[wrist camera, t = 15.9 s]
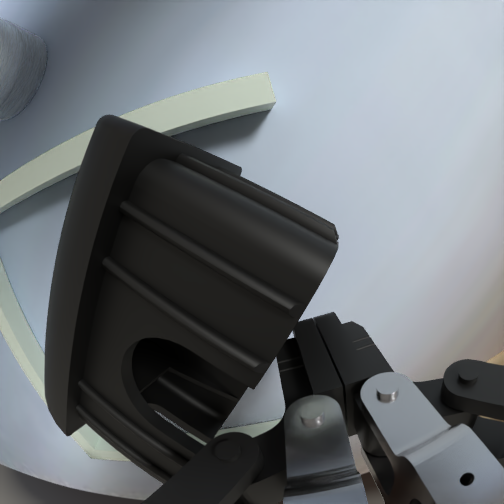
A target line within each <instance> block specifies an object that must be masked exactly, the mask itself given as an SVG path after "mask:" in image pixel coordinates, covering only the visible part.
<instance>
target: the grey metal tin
mask: <svg viewBox="0 0 504 504" xmlns="http://www.w3.org/2000/svg"><path fill="white" fill-rule="evenodd" d="M46 64H47V47H46V44H45V42H44V41H43V39H42V38H40V37H39V36H37V35H35V34H33V33H31V32H29V31H27V30H25V29H23V28H21V27H19V26H17V25H15V24H13V23H11V22H9V21H7V20H5V19H3V18H0V121H5V120H9V119H11V118H13V117H15V116H16V115H18V114H19V113H20V112H21V111H22V110H23V109H24V108H25V107H26V106H27V105H28V103H29V102H30V101H31V99H32V98H33V96H34V95H35V93H36V91H37V89H38V88H39V85H40V83H41V81H42V78H43V76H44V72H45V69H46Z"/></svg>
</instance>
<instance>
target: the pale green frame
mask: <svg viewBox="0 0 504 504" xmlns="http://www.w3.org/2000/svg"><path fill="white" fill-rule="evenodd" d="M275 103H276V99H275V96H274V92H273V89H272V85H271V82H270V79H269V75H268V72H265V73H260V74H255V75H250V76H245V77H241V78H236V79H232V80H228V81H224V82H220V83H216V84H212V85H209V86H205V87H202V88H198V89H195V90H191V91H188V92H185V93H181V94H178V95H175V96H172V97H169V98H166V99H163V100H160V101H157V102H155V103H152V104H149V105H146V106H144V107H141V108H138V109H136V110H133V111H131V112H128V113H126V114H123V115H121V116H119V117H120V118H123V119H126V120H128V121H131V122H134V123H137V124H139V125H142V126H145V127H147V128H150V129H152V130H155V131H157V132H160V133H163V134H165V135H168V136H172V135H176V134H179V133H182V132H185V131H188V130H192V129H195V128H198V127H202V126H205V125H209V124H212V123H216V122H220V121H224V120H227V119H231V118H235V117H239V116H243V115H248V114H252V113H256V112H261V111H266V110H270V109H272V108H273V106H274V104H275ZM94 129H95V127H94V128H91V129H89V130H87V131H85V132H83V133H81V134H79V135H77V136H75V137H73V138H71V139H69V140H67V141H65V142H63V143H61V144H60V145H58V146H56V147H54V148H52V149H50V150H49V151H47V152H45V153H43V154H42V155H40V156H38V157H36V158H35V159H33V160H31V161H30V162H28V163H27V164H25V165H23V166H22V167H20V168H19V169H17V170H15V171H14V172H12V173H11V174H9V175H8V176H6V177H5V178H3V179H2V180H0V213H2V212H3V211H5V210H7V209H9V208H10V207H12V206H14V205H15V204H17V203H19V202H21V201H22V200H24V199H26V198H28V197H30V196H31V195H33V194H35V193H37V192H39V191H41V190H43V189H45V188H47V187H49V186H51V185H53V184H55V183H57V182H59V181H61V180H63V179H65V178H67V177H69V176H71V175H73V174H75V173H78V172H79V169H80V166H81V163H82V160H83V158H84V155H85V152H86V149H87V147H88V144H89V142H90V139H91V136H92V134H93V131H94ZM0 330H1V332H2V334H3V336H4V338H5V340H6V342H7V344H8V346H9V347H10V349H11V351H12V353H13V355H14V356H15V358H16V360H17V361H18V363H19V365H20V366H21V368H22V370H23V371H24V373H25V374H26V376H27V378H28V379H29V381H30V382H31V384H32V385H33V387H34V388H35V390H36V391H37V393H38V394H39V395H40V397H41V398H42V400H43V401H44V402H45V404H46V405H47V402H46V399H45V389H44V364H45V354H44V353H43V351H42V349H41V347H40V346H39V344H38V342H37V340H36V338H35V336H34V334H33V332H32V331H31V329H30V327H29V325H28V323H27V321H26V319H25V316H24V314H23V312H22V310H21V308H20V306H19V303H18V301H17V299H16V297H15V294H14V292H13V290H12V287H11V285H10V282H9V280H8V277H7V275H6V272H5V269H4V267H3V264H2V261H1V258H0ZM47 407H48V406H47ZM280 421H281V419H278V420H273V421H268V422H263V423H258V424H252V425H247V426H241V427H234V428H228V429H220V430H219V431H218V432H217V434H216V435H215V437H216V436H218V435H221V434H224V433H228V432H241V433H245V434H248V435H250V436H251V437H252V438H253V437H256V436H258V435H260V434H262V433H264V432H266V431H268V430H270V429H272V428H273V427H275V426H276V425H277V424H278V423H279V422H280ZM186 434H187V435H189V436H190V437H192V438H193V439H195V440H197V441H198V442H200V443H202V444H203V445H206V444H207V443H205V442H203V441H202V440H200V439H199V438H197V437H195V436H194V435H192V434H191V433H186ZM71 437H72V438H73V439H74V440H75V441H76V442H77V443H78V445H79V446H80V447H81V448H82V449H83V450H84V451H85V452H86V453H87V454H88V455H89V457H90V458H93V459H103V460H115V461H130V460H129V459H128V458H126V457H125V456H124V455H122V454H121V453H120V452H119V451H117V450H116V449H115V448H114V447H112V446H111V445H110V444H109V443H107V442H106V441H105V440H104V439H103V438H102V437H100V436H99V435H98V434H97V433H96V432H95V431H93V430H92V429H91V428H90V427H89V426H88V425H87V424H85V425H84V426H82V427H81V428H80V429H78V430H77V431H76V432H74V433H73V434H72V435H71ZM215 437H214V438H215Z"/></svg>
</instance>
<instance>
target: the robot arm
mask: <svg viewBox="0 0 504 504" xmlns="http://www.w3.org/2000/svg"><path fill="white" fill-rule="evenodd" d="M293 334H294V338H291V339H287V340H286V342H285V343H284V345H283V346H282V348H281V349H280V351H279V353H278V354H277V356H276V357H277V363H278V368H279V373H280V379H281V384H282V390H283V395H284V400H285V407H286V408H285V413H284V416H283V418H282V419H281V421H280V422H279V423H278V424H277V425H276V426H275V427H273V428H272V429H270V430H268V431H266V432H264V433H262V434H260V435H258V436H256V437H253V438H252V437H251V436H250V435H248V434H245V433H241V432H228V433H224V434H221V435H218V436H216V437H215V438H213V439H212V440H210V441H209V442H208V443H207V444H206V445H205V446H204V447H203V448H202V449H201V450H200V451H199V452H198V453H197V454H196V455H195V456H194V457H193V458H192V459H191V460H190V461H188V462H187V463H186V464H185V465H184V466H183V467H182V468H181V469H180V470H179V471H178V472H177V473H176V474H175V475H173V476H172V477H171V478H170V479H169V480H168V481H167V482H166V483H165V484H163V485H162V486H161V487H160V488H159V489H158V490H157V491H155V492H154V493H153V494H152V495H151V496H150V497H148V498H147V499H146V500H145V501H144V502H143V503H141V504H279V502H280V501H282V500H283V501H284V504H368V503H367V499H366V494H365V490H364V486H363V482H362V479H361V476H360V473H359V472H357V470H356V467H355V463H354V459H353V454H352V450H351V446H350V442H349V438H348V437H349V436H352V435H355V434H358V437H359V440H360V442H361V454H362V457H363V459H364V461H365V463H366V465H367V467H368V469H369V471H370V473H371V475H372V477H373V479H374V480H375V483H376V485H377V487H378V489H379V491H380V493H381V495H382V497H383V499H384V502H385V504H504V422H501V421H496V420H492V419H487V418H483V417H478V415H480V416H484V417H489V418H493V419H498V420H503V421H504V365H498V364H493V363H487V362H482V361H477V360H471V359H465V360H460V361H457V362H455V363H453V364H451V365H450V366H449V367H448V368H447V369H446V371H445V373H444V377H443V378H442V379H436V380H430V381H425V382H412V381H411V380H410V379H409V378H408V377H407V376H405V375H403V374H401V373H396V372H394V371H393V370H392V368H391V367H390V365H389V364H388V362H387V361H386V359H385V358H384V356H383V355H382V353H381V352H380V351H379V349H378V348H377V346H376V345H375V344H374V342H373V341H372V339H371V338H370V337H369V335H368V333H367V332H366V331H365V329H364V328H363V327H362V326H360V325H358V324H356V323H354V322H353V321H351V322H348V323H344V324H341V322H340V320H339V319H338V317H337V316H336V314H335V313H334V312H331V313H328V314H324V315H321V316H317V317H314V318H313V319H312V318H310V319H306V320H303V321H299V322H297V324H296V325H295V327H294V329H293Z"/></svg>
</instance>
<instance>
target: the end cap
mask: <svg viewBox="0 0 504 504" xmlns="http://www.w3.org/2000/svg"><path fill="white" fill-rule="evenodd" d="M241 172H242V168H241V167H239V166H237V165H235V164H233V163H230V162H228V161H226V160H224V159H222V158H219V157H217V156H215V155H213V154H210V153H208V152H206V151H203V150H201V149H199V148H196V147H194V146H192V145H189V144H187V143H185V142H182V141H180V140H177V139H175V138H172V137H170V136H168V135H165V134H163V133H160V132H157V131H155V130H152V129H150V128H147V127H145V126H142V125H139V124H137V123H134V122H131V121H128V120H126V119H123V118H120V117H117V116H114V115H105V116H103V117H101V118H100V119H99V120H98V122H97V124H96V127H95V129H94V131H93V134H92V136H91V139H90V142H89V144H88V147H87V149H86V152H85V155H84V158H83V160H82V163H81V166H80V169H79V172H78V175H77V178H76V181H75V185H74V188H73V191H72V194H71V198H70V201H69V205H68V209H67V212H66V216H65V220H64V224H63V228H62V232H61V237H60V241H59V246H58V251H57V256H56V261H55V266H54V272H53V278H52V285H51V291H50V299H49V307H48V316H47V327H46V341H45V364H44V389H45V399H46V402H47V406H48V409H49V411H50V413H51V415H52V417H53V419H54V421H55V422H56V424H57V425H58V426H59V428H60V429H61V430H62V431H63V432H64V434H65V435H66V436H70V435H72V434H73V433H74V432H76V431H77V430H78V429H80V428H81V427H82V426H84V425H85V424H87V425H88V426H89V427H90V428H91V429H92V430H93V431H95V432H96V433H97V434H98V435H99V436H100V437H102V438H103V439H104V440H105V441H106V442H107V443H109V444H110V445H111V446H112V447H114V448H115V449H116V450H117V451H119V452H120V453H121V454H122V455H124V456H125V457H126V458H128V459H129V460H130V461H132V462H133V463H134V464H136V465H137V466H138V467H140V468H141V469H143V470H144V471H145V472H147V473H148V474H150V475H151V476H153V477H154V478H156V479H157V480H159V481H160V482H162V483H163V484H165V483H166V482H167V481H168V480H169V479H170V478H171V477H172V476H173V475H175V474H176V473H177V472H178V471H179V470H180V469H181V468H182V467H183V466H184V465H185V464H186V463H187V462H188V461H190V460H191V459H192V458H193V457H194V456H195V455H196V454H197V453H198V452H199V451H200V450H201V449H202V448H203V447H204V446H205V445H203V444H202V443H200V442H198V441H197V440H195V439H193V438H192V437H190V436H189V435H187V434H186V433H184V432H183V431H181V430H179V429H178V428H176V427H175V426H174V425H172V424H171V423H169V422H168V421H166V420H165V419H163V418H162V417H161V416H160V415H158V414H157V413H156V412H155V411H157V412H159V413H161V414H162V415H164V416H165V417H167V418H168V419H170V420H171V421H172V422H174V423H175V424H177V425H178V426H180V427H181V428H183V429H184V430H186V431H187V432H189V433H191V434H192V435H194V436H195V437H197V438H199V439H200V440H202V441H203V442H205V443H208V442H209V441H210V440H212V439H213V438H214V437H215V435H216V434H217V432H218V431H219V429H220V428H221V426H222V425H223V423H224V422H225V420H226V419H227V417H228V416H229V414H230V413H231V411H232V410H233V409H234V407H235V406H236V404H237V403H238V401H239V400H240V398H241V397H242V395H243V394H244V392H245V391H246V389H247V388H248V387H250V388H252V389H255V387H256V386H257V384H258V383H259V381H260V380H261V378H262V377H263V375H264V374H265V372H266V371H267V369H268V368H269V366H270V365H271V363H272V362H273V360H274V359H275V357H276V356H277V354H278V353H279V351H280V349H281V348H282V346H283V345H284V343H285V342H286V340H287V338H288V337H289V335H290V334H291V332H292V330H293V329H294V327H295V325H296V324H297V322H298V321H299V319H300V317H301V316H302V314H303V312H304V311H305V309H306V307H307V306H308V304H309V302H310V301H311V299H312V297H313V296H314V294H315V292H316V290H317V289H318V287H319V285H320V283H321V282H322V280H323V278H324V276H325V274H326V273H327V271H328V269H329V267H330V265H331V263H332V261H333V259H334V257H335V255H336V252H337V250H338V242H337V240H338V238H339V235H338V234H337V231H336V227H335V225H334V224H333V223H331V222H329V221H327V220H325V219H323V218H321V217H320V216H318V215H316V214H314V213H312V212H310V211H308V210H306V209H305V208H303V207H301V206H299V205H297V204H295V203H293V202H291V201H289V200H287V199H285V198H283V197H281V196H279V195H277V194H275V193H273V192H271V191H269V190H267V189H265V188H263V187H261V186H259V185H257V184H255V183H253V182H251V181H249V180H247V179H245V178H243V177H241V176H240V175H241ZM154 410H155V411H154Z"/></svg>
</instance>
